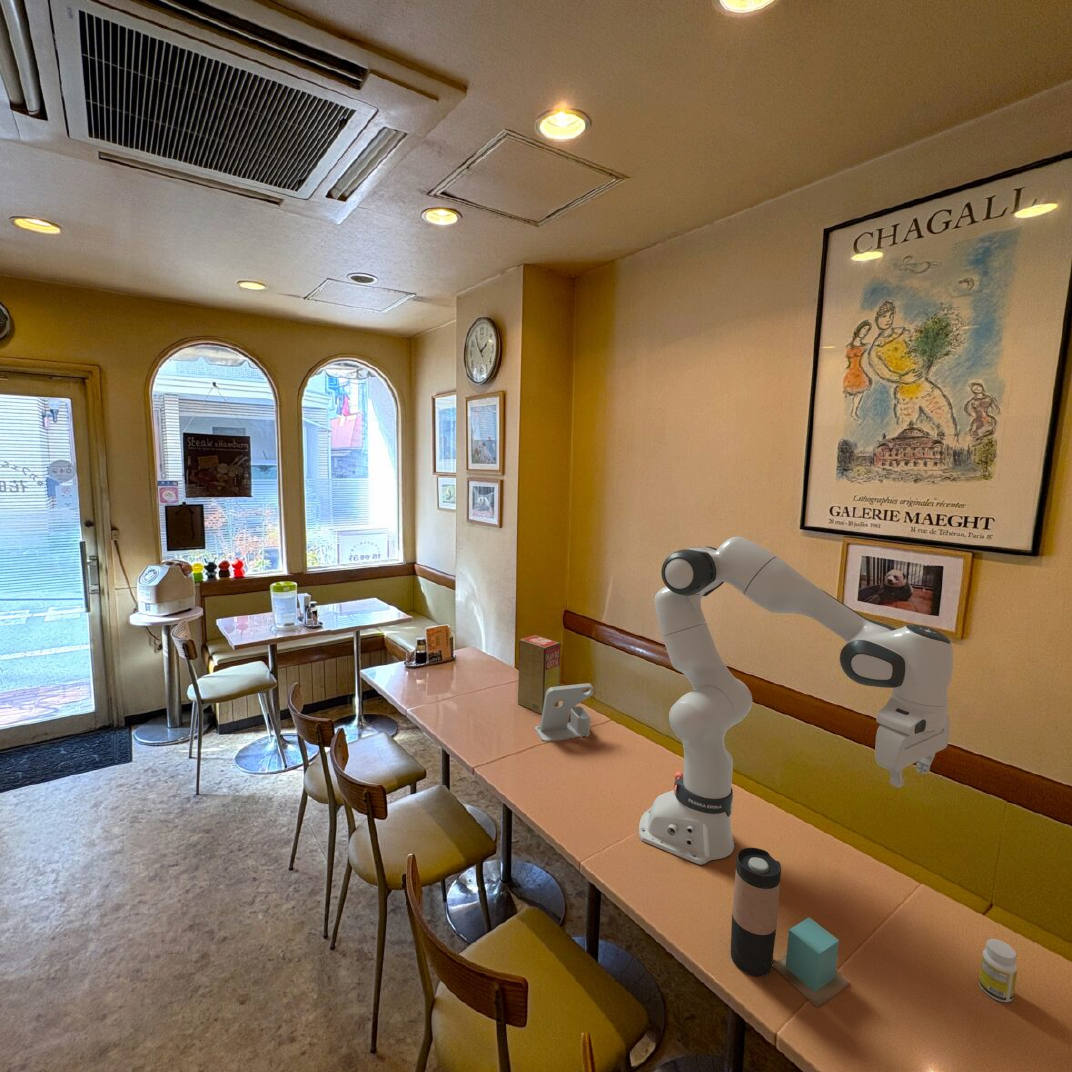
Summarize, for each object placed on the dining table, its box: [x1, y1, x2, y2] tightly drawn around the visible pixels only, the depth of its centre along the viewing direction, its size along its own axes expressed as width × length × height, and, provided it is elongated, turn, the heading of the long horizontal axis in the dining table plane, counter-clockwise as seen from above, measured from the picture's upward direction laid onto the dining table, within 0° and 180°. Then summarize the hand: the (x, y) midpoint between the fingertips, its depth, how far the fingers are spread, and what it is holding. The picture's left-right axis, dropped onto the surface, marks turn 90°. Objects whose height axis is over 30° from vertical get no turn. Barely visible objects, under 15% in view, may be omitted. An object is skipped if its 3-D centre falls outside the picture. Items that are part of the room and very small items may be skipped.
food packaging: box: [517, 634, 562, 716], centre depth 208 cm, size 13×9×25 cm
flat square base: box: [771, 954, 850, 1008], centre depth 101 cm, size 9×9×6 cm
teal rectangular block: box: [786, 917, 840, 993], centre depth 101 cm, size 6×6×8 cm
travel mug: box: [730, 847, 782, 978], centre depth 103 cm, size 8×8×20 cm
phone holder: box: [534, 682, 595, 743], centre depth 189 cm, size 17×10×18 cm, turn 108°
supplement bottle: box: [978, 938, 1018, 1003], centre depth 99 cm, size 5×5×8 cm
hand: (909, 778), depth 110 cm, fingers open, 8 cm apart
